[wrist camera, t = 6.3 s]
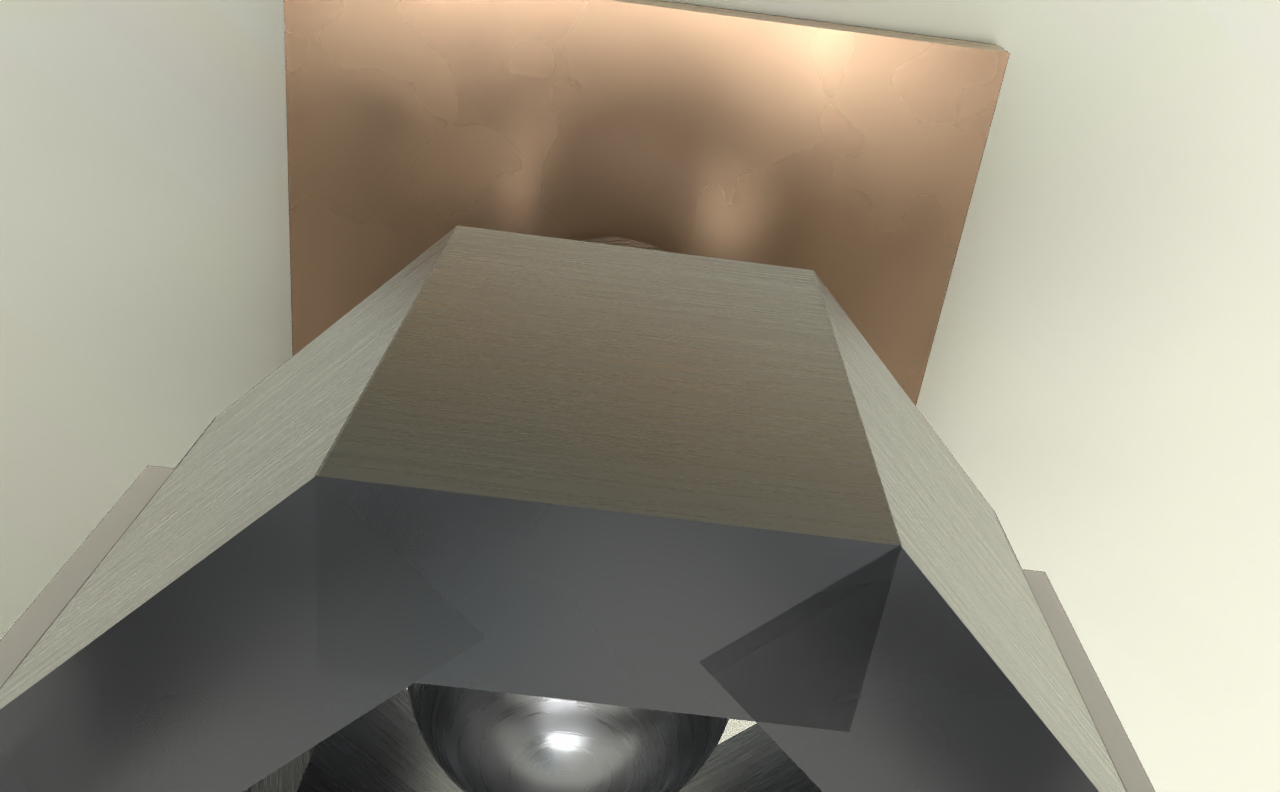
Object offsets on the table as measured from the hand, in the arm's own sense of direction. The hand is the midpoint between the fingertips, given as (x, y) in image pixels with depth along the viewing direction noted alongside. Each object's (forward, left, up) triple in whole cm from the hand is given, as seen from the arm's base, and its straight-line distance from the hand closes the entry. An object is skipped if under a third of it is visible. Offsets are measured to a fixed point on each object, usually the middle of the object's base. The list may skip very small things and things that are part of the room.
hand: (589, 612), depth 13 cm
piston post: (0, 0, -9) cm, 9 cm away
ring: (0, 0, 0) cm, 0 cm away
